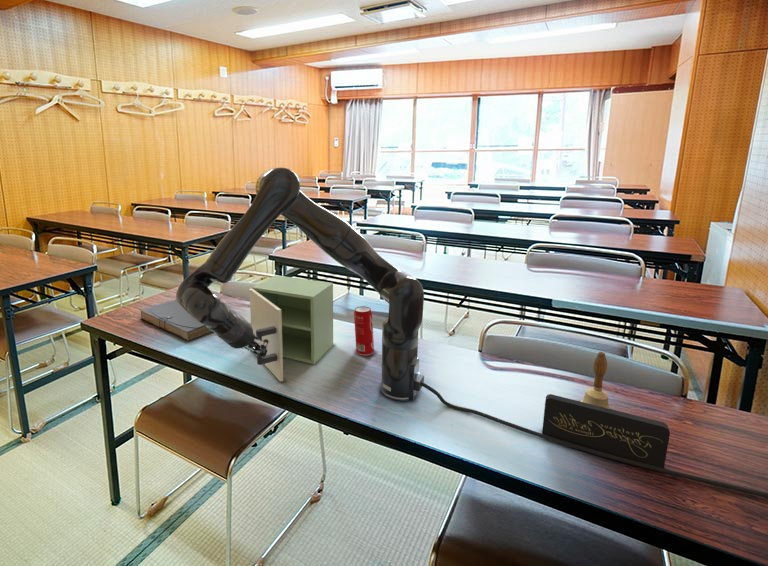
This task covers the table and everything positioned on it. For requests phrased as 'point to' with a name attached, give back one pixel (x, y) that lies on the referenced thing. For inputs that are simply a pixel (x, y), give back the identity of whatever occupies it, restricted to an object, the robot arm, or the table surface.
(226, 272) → the robot arm
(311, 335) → the cupboard
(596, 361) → the hand bell
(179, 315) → the file folder
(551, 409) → the nameplate
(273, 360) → the door
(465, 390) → the table surface
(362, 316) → the beverage can
